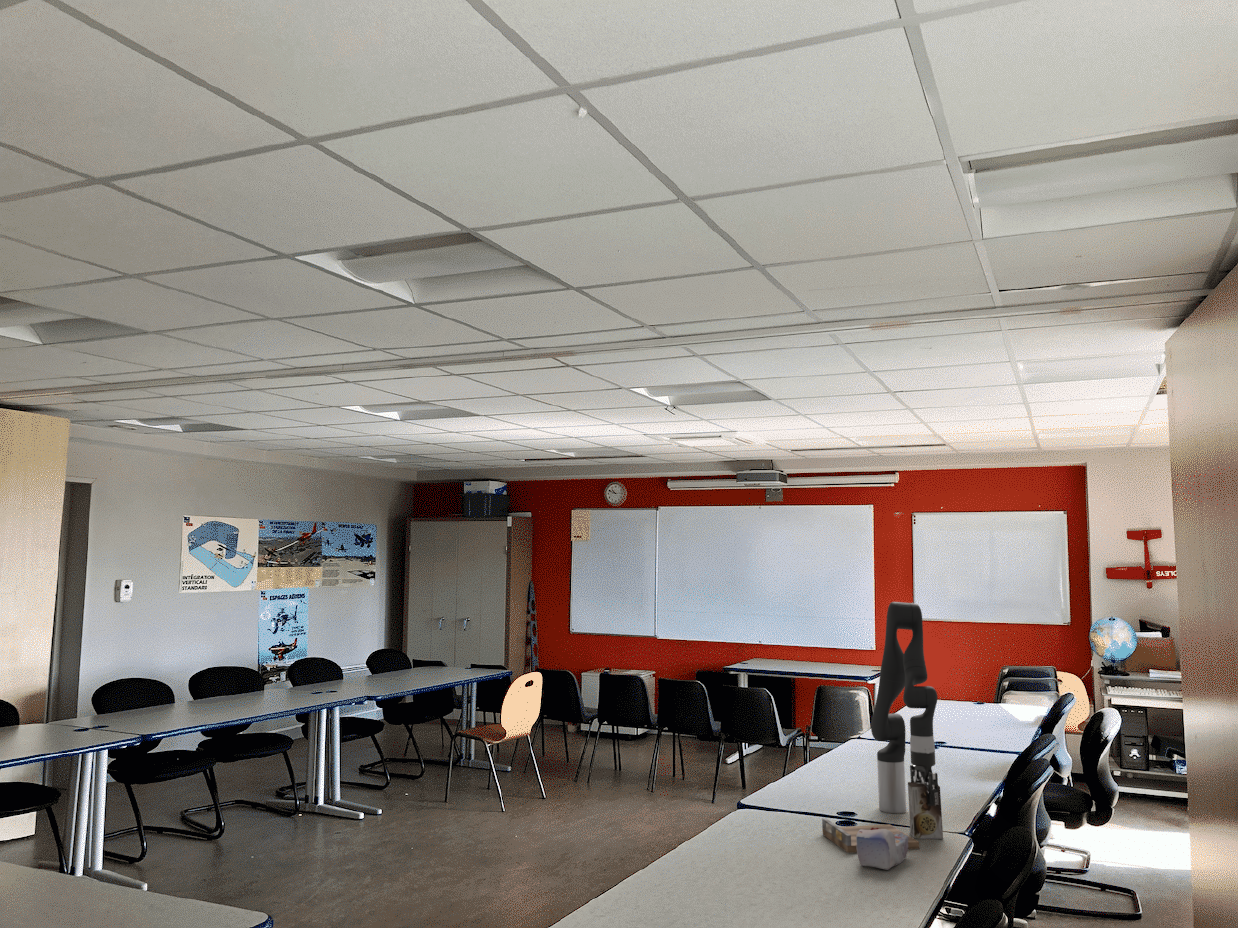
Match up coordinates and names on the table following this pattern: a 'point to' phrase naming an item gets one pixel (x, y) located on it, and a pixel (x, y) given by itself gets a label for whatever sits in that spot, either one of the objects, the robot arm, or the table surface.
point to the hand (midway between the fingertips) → (924, 802)
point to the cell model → (881, 848)
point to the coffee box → (924, 813)
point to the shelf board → (847, 835)
